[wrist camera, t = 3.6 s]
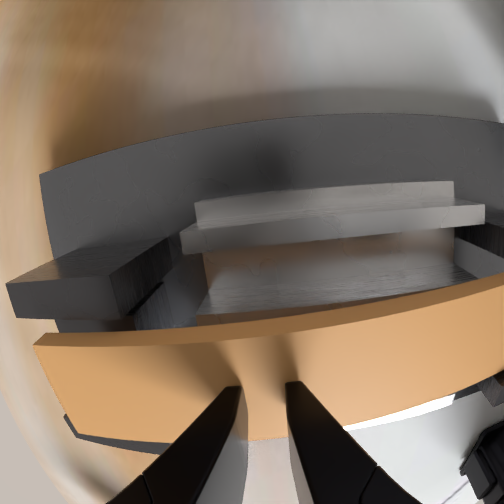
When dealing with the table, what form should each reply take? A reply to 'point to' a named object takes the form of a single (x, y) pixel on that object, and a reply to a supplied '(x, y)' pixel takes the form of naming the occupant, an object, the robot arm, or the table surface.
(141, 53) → the table surface
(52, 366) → the light orange wooden plank
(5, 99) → the table surface
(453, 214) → the mount
